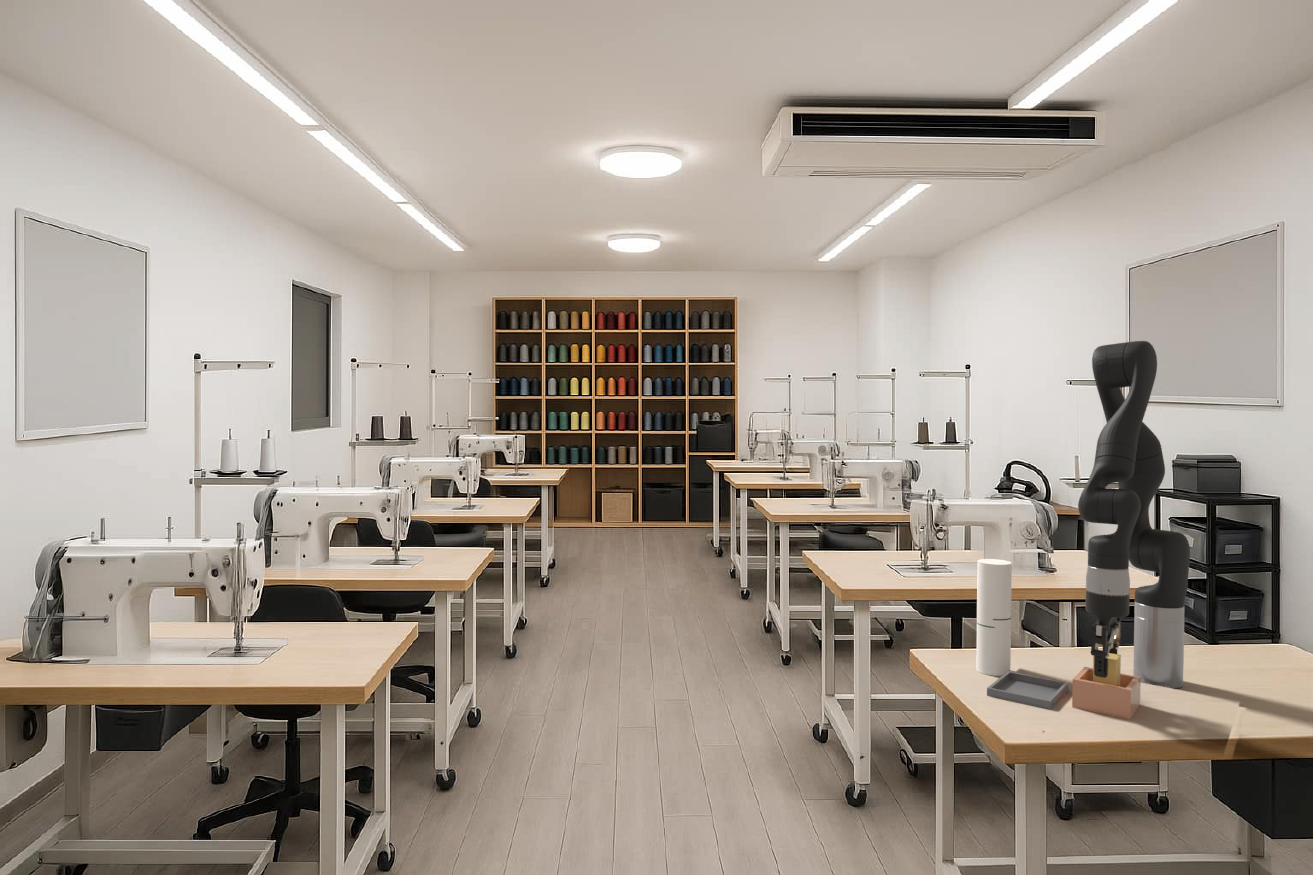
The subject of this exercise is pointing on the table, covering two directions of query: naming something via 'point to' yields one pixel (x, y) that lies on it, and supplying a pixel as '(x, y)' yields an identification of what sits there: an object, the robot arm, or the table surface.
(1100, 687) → the terracotta storage bin
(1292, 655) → the table surface
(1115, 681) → the ochre block
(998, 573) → the cylindrical container
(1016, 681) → the grey tray
